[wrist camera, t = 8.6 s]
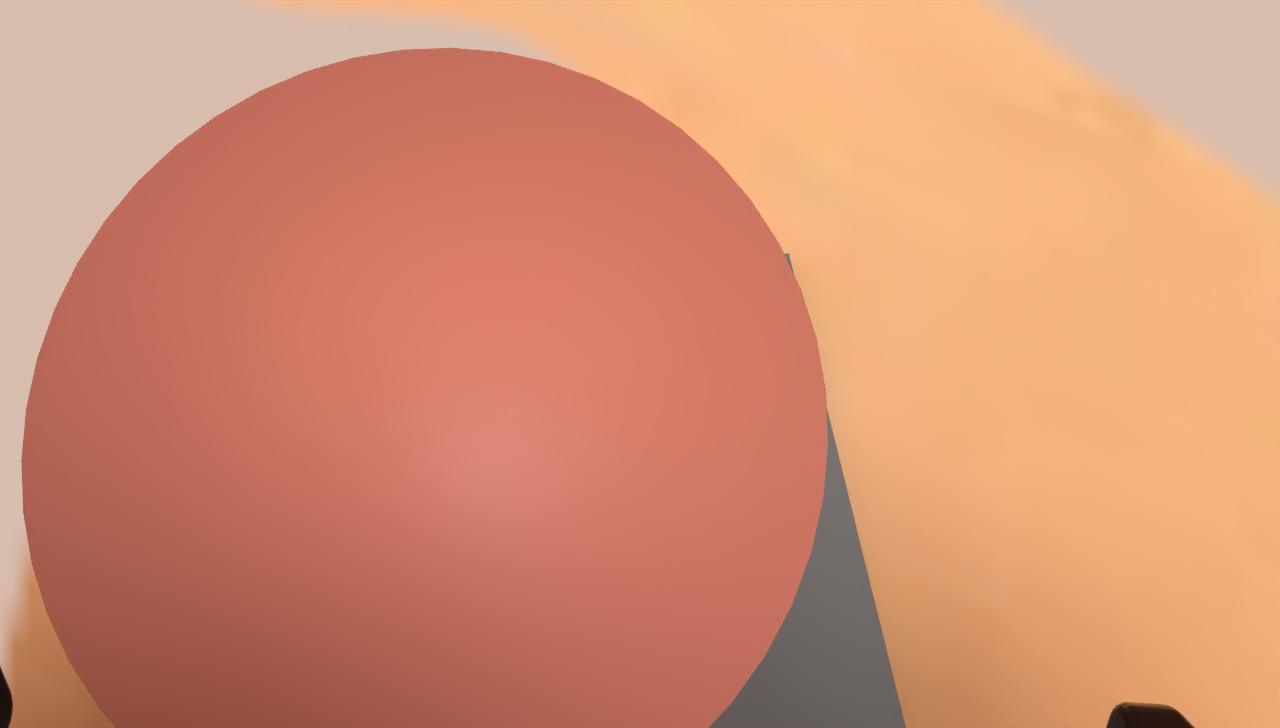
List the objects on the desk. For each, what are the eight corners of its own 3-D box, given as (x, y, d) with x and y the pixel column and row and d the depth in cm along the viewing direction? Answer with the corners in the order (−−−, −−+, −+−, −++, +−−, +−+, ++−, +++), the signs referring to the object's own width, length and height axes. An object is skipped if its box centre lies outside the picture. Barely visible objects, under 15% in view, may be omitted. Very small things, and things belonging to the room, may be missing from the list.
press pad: (901, 726, 17) (905, 728, 16) (417, 829, 17) (411, 833, 17) (787, 259, 18) (788, 253, 18) (341, 356, 18) (335, 352, 18)
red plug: (788, 658, 17) (920, 759, 6) (483, 723, 17) (66, 941, 6) (719, 358, 18) (727, -27, 7) (430, 421, 18) (-16, 140, 7)
